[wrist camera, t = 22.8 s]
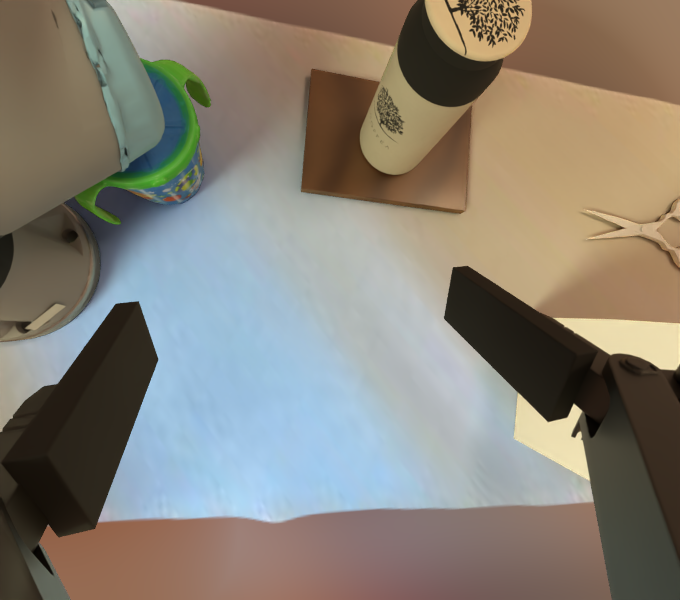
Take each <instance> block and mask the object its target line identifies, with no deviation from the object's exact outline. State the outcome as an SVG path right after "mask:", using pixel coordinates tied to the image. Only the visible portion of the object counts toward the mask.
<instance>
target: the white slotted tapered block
mask: <svg viewBox="0 0 680 600" xmlns="http://www.w3.org/2000/svg"><path fill="white" fill-rule="evenodd" d="M553 319H555V320H557V321H558V322H560V323H561V324H563V325H564V327H568V328H569V329H571V330H572V331H574V333H577V334H578V335H580V336H582V337H583V338H585V339H586V340H588V341H589V342H591V343H593V344H594V345H596V346H597V347H599V348H600V349H602V350H603V351H605V352H607V353H608V354H610V355H612V354H617V353H622V354H630V355H633V356H636V357H640V358H642V359H644V360H646V361H649V362H651V363H652V364H654V365H655V366H657V367H658V368H659V369H665V370H676V369H677V367H678V366H679V364H680V323H664V322H648V321H632V320H616V319H581V318H553ZM581 413H582V410H581V409H580V408H578V407H577V406H576V405H575V404H574V405H573V407H572V409H571V411H570V413H569V415H568V417H567V418H564V419H560V420H556V421H552V422H547V421H546V420H545V419H544V418H543V417H542V416H541V415H540V414H539V413H538V412H537V411H536V410H535V409H534V408H533V407H532V406H531V405H530V404H529V403H528V402H527V401H526V400H525V399H524V398H523V397H522V396H521V395H520V394H519V393H518V396H517V407H516V419H515V431H514V439H515V440H517V441H519V442H521V443H523V444H524V445H526V446H528V447H530V448H532V449H533V450H535V451H537V452H539V453H541V454H542V455H544V456H546V457H548V458H550V459H551V460H553V461H555V462H557V463H558V464H560V465H562V466H564V467H566V468H567V469H569V470H571V471H573V472H575V473H576V474H578V475H580V476H582V477H584V478H585V479H587V480H589V481H590V477H589V472H588V466H587V461H586V456H585V450H584V445H583V440H581V438H582V434H581V431H580V432H578V433H577V435H576V437H575V438H573V437H571V435H572V431H573V429H574V427H575V425H576V423H577V421H578V419H579V417H580V415H581Z"/></svg>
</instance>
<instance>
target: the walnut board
mask: <svg viewBox="0 0 680 600" xmlns="http://www.w3.org/2000/svg"><path fill="white" fill-rule="evenodd" d="M379 84H380V82H376V81H371V80H366V79H361V78H356V77H351V76H346V75H341V74H336V73H331V72H326V71H321V70H315V69H312V70H311V81H310V92H309V104H308V116H307V127H306V139H305V151H304V162H303V174H302V185H301V192H306V193H313V194H320V195H328V196H335V197H342V198H349V199H357V200H364V201H371V202H379V203H386V204H393V205H400V206H408V207H415V208H422V209H430V210H437V211H444V212H451V213H459V214H461V213H463V212H464V211H465V209H466V193H467V176H468V160H469V144H470V128H471V111H472V105H471V106H470V107H469V108H468V109H467V110H466V112H465V113H464V114H463V115H462V116H461V117H460V118H459V119H458V120H457V122H456V123H455V124H454V125H453V126H452V127H451V128H450V129H449V130H448V132H447V133H446V134H445V135H444V136H443V137H442V138H441V139H440V140H439V142H438V143H437V144H436V145H435V146H434V147H433V148H432V149H431V150H430V152H429V153H428V154H427V155H426V156H425V157H424V158H423V159H422V161H421V162H420V163H419V164H418V165H417V166H416V167H415V168H414V169H412V170H411V171H409V172H407V173H404V174H399V175H392V174H387V173H384V172H381V171H379V170H378V169H376V168H375V167H373V166H372V165H371V164H370V163H369V162H368V160H367V159H366V157H365V156H364V154H363V152H362V149H361V145H360V131H361V128H362V125H363V123H364V120H365V118H366V115H367V113H368V110H369V108H370V106H371V103H372V101H373V98H374V96H375V93H376V91H377V89H378V86H379Z"/></svg>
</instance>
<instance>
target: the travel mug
mask: <svg viewBox="0 0 680 600" xmlns="http://www.w3.org/2000/svg"><path fill="white" fill-rule="evenodd" d="M531 18H532V3H531V0H418V1H417V2H416V3H415V4H414V5H413V6H412V8H411V9H410V11H409V14H408V16H407V18H406V20H405V23H404V25H403V28H402V30H401V33H400V35H399V38H398V40H397V42H396V45H395V47H394V50H393V52H392V55H391V57H390V59H389V62H388V64H387V67H386V69H385V72H384V74H383V76H382V79H381V81H380V84H379V86H378V89H377V91H376V93H375V96H374V98H373V101H372V103H371V106H370V108H369V110H368V113H367V115H366V118H365V120H364V123H363V125H362V128H361V131H360V145H361V149H362V152H363V154H364V156H365V157H366V159H367V160H368V162H369V163H370V164H371V165H372V166H373V167H375V168H376V169H378V170H379V171H381V172H384V173H387V174H392V175H399V174H404V173H407V172H409V171H411V170H412V169H414V168H415V167H416V166H417V165H418V164H419V163H420V162H421V161H422V159H423V158H424V157H425V156H426V155H427V154H428V153H429V152H430V150H431V149H432V148H433V147H434V146H435V145H436V144H437V143H438V142H439V140H440V139H441V138H442V137H443V136H444V135H445V134H446V133H447V132H448V130H449V129H450V128H451V127H452V126H453V125H454V124H455V123H456V122H457V120H458V119H459V118H460V117H461V116H462V115H463V114H464V113H465V112H466V110H467V109H468V108H469V107H470V106H471V105H472V104H473V103H474V102H475V100H476V99H477V98H478V97H479V96H480V95H481V94H482V93H483V92H484V90H485V89H486V88H487V87H488V86H489V85H490V84H491V83H492V81H493V80H494V79H495V78H496V76H497V75H498V73H499V71H500V69H501V66H502V62H503V58H504V57H506V56H508V55H510V54H511V53H512V52H514V51H515V50H516V49H517V48H518V47H519V46H520V45H521V44H522V42H523V41H524V39H525V37H526V35H527V33H528V31H529V28H530V24H531Z"/></svg>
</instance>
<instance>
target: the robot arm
mask: <svg viewBox="0 0 680 600" xmlns="http://www.w3.org/2000/svg"><path fill="white" fill-rule="evenodd" d="M164 129H165V120H164V115H163V111H162V108H161V105H160V102H159V100H158V97H157V95H156V92H155V90H154V87H153V85H152V83H151V81H150V78H149V76H148V74H147V72H146V70H145V68H144V66H143V64H142V62H141V60H140V58H139V56H138V54H137V52H136V50H135V48H134V46H133V44H132V42H131V40H130V38H129V36H128V34H127V32H126V30H125V29H124V27H123V25H122V23H121V21H120V20H119V18H118V16H117V14H116V12H115V11H114V9H113V8H112V7H111V6H110V4H109V3H108V2H107V1H106V0H0V342H7V341H17V340H25V339H32V338H36V337H40V336H43V335H46V334H49V333H51V332H54V331H56V330H58V329H60V328H61V327H63V326H65V325H66V324H68V323H69V322H70V321H72V320H73V319H74V318H75V317H76V316H77V315H78V314H80V313H81V311H82V310H83V309H84V308H85V307H86V305H87V304H88V302H89V301H90V299H91V298H92V296H93V294H94V292H95V289H96V287H97V284H98V281H99V276H100V267H101V262H100V252H99V248H98V244H97V241H96V239H95V236H94V234H93V232H92V231H91V229H90V227H89V226H88V224H87V223H86V222H85V220H84V219H83V218H82V217H81V216H80V215H79V214H78V213H77V212H76V211H75V210H74V209H72V208H71V207H70V206H68V205H67V204H65V203H64V202H65V201H67V200H69V199H71V198H72V197H74V196H76V195H78V194H79V193H81V192H83V191H85V190H86V189H88V188H90V187H92V186H93V185H95V184H97V183H99V182H100V181H102V180H104V179H106V178H107V177H109V176H111V175H112V174H114V173H116V172H123V171H125V169H126V168H128V166H129V163H130V162H132V161H134V160H135V159H137V158H138V157H140V156H141V155H143V154H144V153H146V152H147V151H149V150H150V149H152V148H153V147H155V146H156V145H157V144H158V143H159V142H160V140H161V138H162V135H163V133H164ZM444 319H445V320H446V321H447V322H448V323H449V324H450V325H451V326H452V327H453V328H454V329H455V330H456V331H457V332H458V333H459V334H460V335H461V336H462V337H463V338H464V339H465V340H466V341H467V342H468V343H469V344H470V345H471V346H472V347H473V348H474V349H475V350H476V351H477V352H478V353H479V354H480V355H481V356H482V357H483V358H484V359H485V360H486V361H487V362H488V363H489V364H490V365H491V366H492V367H493V368H494V369H495V370H496V371H497V372H498V373H499V374H500V375H501V376H502V377H503V378H504V379H505V380H506V381H507V382H508V383H509V384H510V385H511V386H512V387H513V388H514V389H515V390H516V391H517V392H518V393H519V394H520V395H521V396H522V397H523V398H524V399H525V400H526V401H527V402H528V403H529V404H530V405H531V406H532V407H533V408H534V409H535V410H536V411H537V412H538V413H539V414H540V415H541V416H542V417H543V418H544V419H545V420H546V421H547V422H552V421H556V420H560V419H564V418H567V417H568V415H569V413H570V411H571V409H572V407H573V405H574V404H575V405H576V406H577V407H578V408H580V409H581V410H582V413H581V415H580V417H579V419H578V421H577V423H576V425H575V427H574V429H573V431H572V435H571V437H573V438H575V437H576V435H577V433H578V432H580V431H581V434H582V438H581V440H583V445H584V450H585V456H586V461H587V466H588V472H589V477H590V483H591V488H592V494H593V499H594V504H595V510H596V515H597V521H598V526H599V531H600V537H601V542H602V548H603V553H604V559H605V564H606V570H607V575H608V581H609V586H610V592H611V597H612V600H680V364H679V366H678V367H677V369H676V370H665V369H659V368H658V367H657V366H655V365H654V364H652V363H651V362H649V361H646V360H644V359H642V358H640V357H636V356H633V355H630V354H622V353H617V354H612V355H610V354H608V353H607V352H605V351H603V350H602V349H600V348H599V347H597V346H596V345H594V344H593V343H591V342H589V341H588V340H586V339H585V338H583V337H582V336H580V335H578V334H577V333H574V331H572V330H571V329H569V328H568V327H564V325H563V324H561V323H560V322H558V321H557V320H555V319H553V318H552V317H549V316H547V315H544V314H542V313H539V312H538V311H536V310H535V309H533V308H532V307H530V306H529V305H527V304H525V303H524V302H522V301H521V300H519V299H518V298H516V297H515V296H513V295H512V294H510V293H509V292H507V291H505V290H504V289H502V288H501V287H499V286H498V285H496V284H495V283H493V282H492V281H490V280H489V279H487V278H485V277H484V276H482V275H481V274H479V273H478V272H476V271H475V270H473V269H472V268H470V267H469V266H462V267H453V270H452V275H451V281H450V287H449V293H448V298H447V304H446V310H445V316H444ZM157 362H158V357H157V354H156V351H155V348H154V345H153V342H152V339H151V336H150V333H149V330H148V327H147V325H146V322H145V319H144V316H143V313H142V310H141V307H140V304H139V301H137V302H128V303H119V304H115V306H114V307H113V309H112V310H111V311H110V313H109V314H108V315H107V317H106V318H105V320H104V321H103V322H102V324H101V325H100V326H99V328H98V329H97V331H96V332H95V333H94V335H93V336H92V338H91V339H90V340H89V342H88V343H87V344H86V346H85V347H84V349H83V350H82V351H81V353H80V354H79V355H78V357H77V358H76V360H75V361H74V362H73V364H72V365H71V367H70V368H69V369H68V371H67V372H66V373H65V375H64V376H63V378H62V379H61V380H60V382H59V383H58V384H56V385H49V386H44V387H42V388H41V389H40V390H38V391H37V392H36V393H34V394H33V395H32V396H31V397H29V398H28V399H27V400H25V401H24V403H23V404H22V405H21V406H20V408H19V409H18V410H17V411H16V413H15V414H14V415H13V419H10V420H9V421H8V423H7V424H6V425H5V426H4V428H3V431H2V432H0V600H70V597H69V596H68V594H67V592H66V590H65V588H64V586H63V584H62V582H61V580H60V578H59V576H58V574H57V573H56V570H55V569H54V567H53V565H52V563H51V561H50V559H49V557H48V555H47V553H46V551H45V549H44V548H43V547H42V546H41V544H40V543H39V541H40V539H41V537H42V535H43V533H44V531H45V529H46V527H47V525H48V524H49V526H50V527H51V528H52V530H53V531H54V532H55V533H56V535H57V536H58V537H62V536H66V535H71V534H75V533H79V532H83V531H87V530H92V529H95V527H96V525H97V522H98V519H99V517H100V514H101V511H102V509H103V506H104V503H105V501H106V498H107V495H108V493H109V490H110V487H111V485H112V482H113V479H114V477H115V474H116V471H117V469H118V466H119V463H120V461H121V458H122V455H123V453H124V450H125V447H126V445H127V442H128V439H129V437H130V434H131V431H132V429H133V426H134V423H135V421H136V418H137V415H138V413H139V410H140V407H141V404H142V402H143V399H144V396H145V394H146V391H147V388H148V386H149V383H150V380H151V378H152V375H153V372H154V370H155V367H156V364H157Z"/></svg>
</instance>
